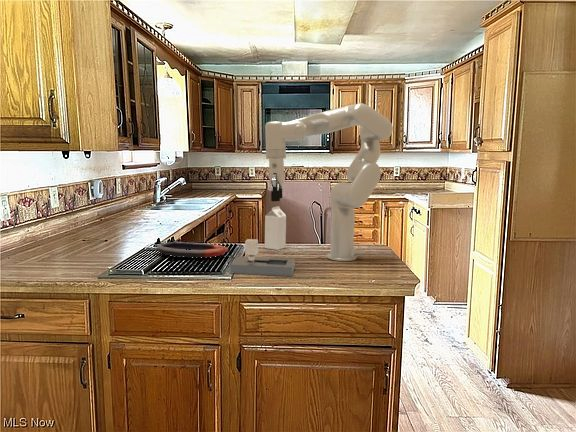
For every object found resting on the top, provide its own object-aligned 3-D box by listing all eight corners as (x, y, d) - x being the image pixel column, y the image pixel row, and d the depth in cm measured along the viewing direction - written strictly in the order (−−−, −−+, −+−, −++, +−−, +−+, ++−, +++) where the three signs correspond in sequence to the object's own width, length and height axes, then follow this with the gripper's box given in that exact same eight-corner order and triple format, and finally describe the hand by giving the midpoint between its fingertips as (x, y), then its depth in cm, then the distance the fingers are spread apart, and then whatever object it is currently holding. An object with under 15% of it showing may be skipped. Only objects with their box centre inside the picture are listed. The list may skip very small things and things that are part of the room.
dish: (167, 249, 190) (167, 238, 190) (233, 255, 183) (233, 243, 183) (148, 257, 175) (148, 245, 175) (219, 263, 168) (219, 251, 168)
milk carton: (264, 248, 196) (265, 207, 194) (272, 245, 203) (272, 205, 200) (278, 250, 193) (278, 208, 190) (285, 247, 199) (286, 206, 197)
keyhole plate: (294, 267, 165) (295, 258, 164) (291, 276, 152) (291, 267, 151) (238, 264, 167) (238, 256, 166) (230, 273, 154) (230, 264, 154)
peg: (259, 268, 162) (259, 239, 160) (256, 271, 157) (257, 241, 156) (246, 267, 162) (246, 238, 161) (243, 270, 158) (243, 241, 156)
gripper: (283, 155, 155) (284, 202, 157) (287, 154, 172) (288, 197, 174) (262, 155, 155) (264, 202, 158) (268, 154, 172) (270, 197, 175)
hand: (277, 199), depth 166 cm, fingers open, 9 cm apart
